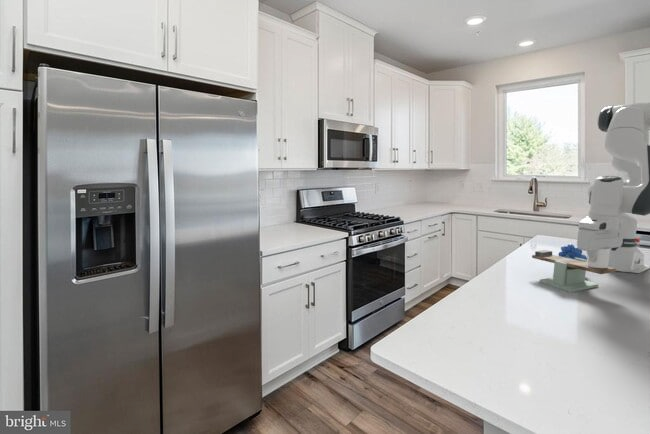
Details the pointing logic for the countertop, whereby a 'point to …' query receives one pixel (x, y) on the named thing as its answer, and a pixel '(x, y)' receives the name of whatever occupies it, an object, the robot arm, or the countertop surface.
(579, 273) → the pivot stand
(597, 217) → the robot arm
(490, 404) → the countertop surface
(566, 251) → the grapes
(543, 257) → the seesaw beam
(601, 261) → the white cup
